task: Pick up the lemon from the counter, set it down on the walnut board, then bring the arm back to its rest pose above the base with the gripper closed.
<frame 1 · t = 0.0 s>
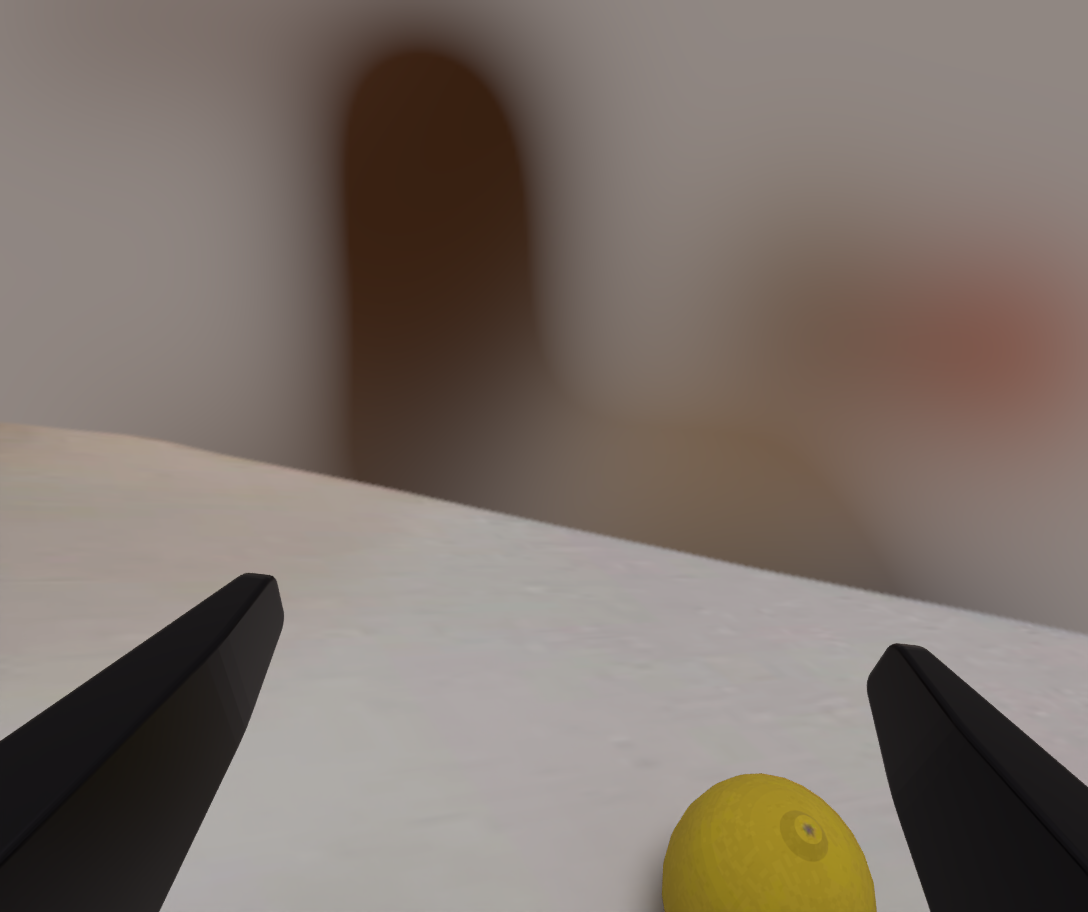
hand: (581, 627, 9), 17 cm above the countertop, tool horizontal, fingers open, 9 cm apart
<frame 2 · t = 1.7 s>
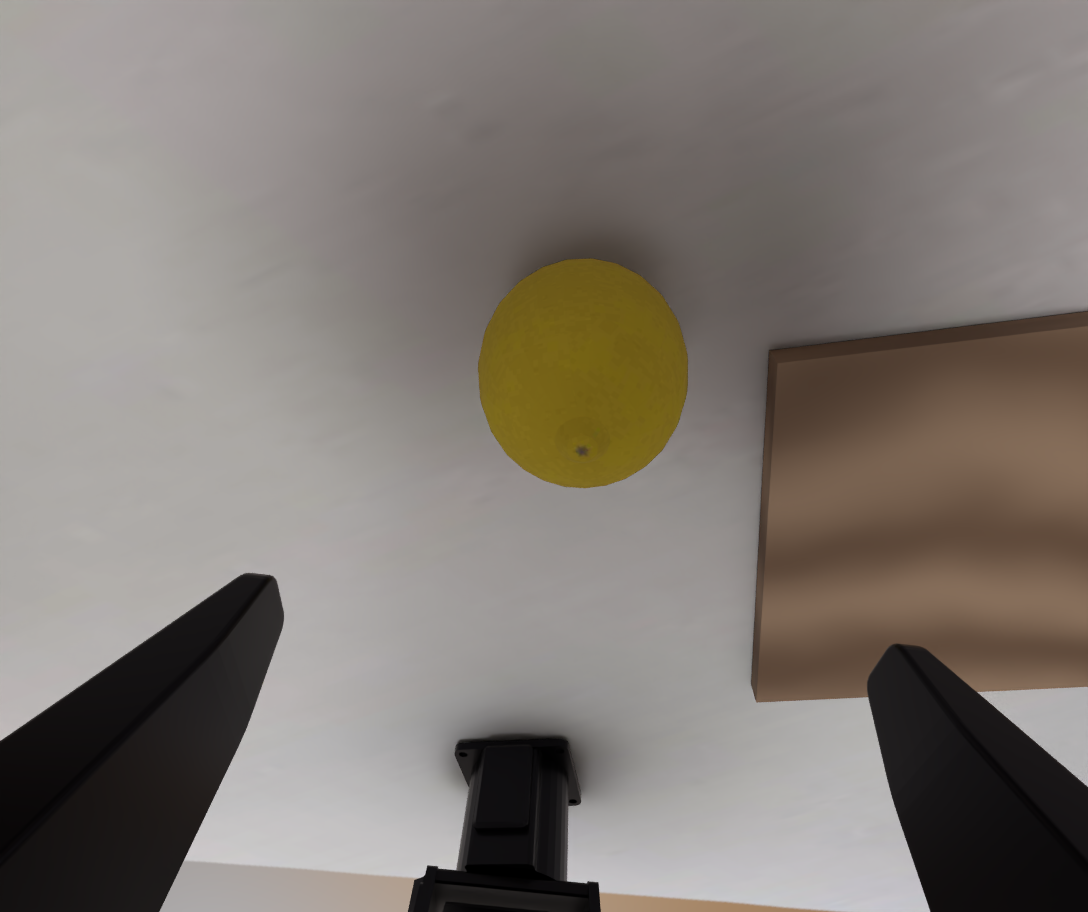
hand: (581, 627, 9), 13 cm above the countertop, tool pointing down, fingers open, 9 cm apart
walnut board: (993, 532, 23), on the countertop
lemon: (581, 315, 19), on the countertop
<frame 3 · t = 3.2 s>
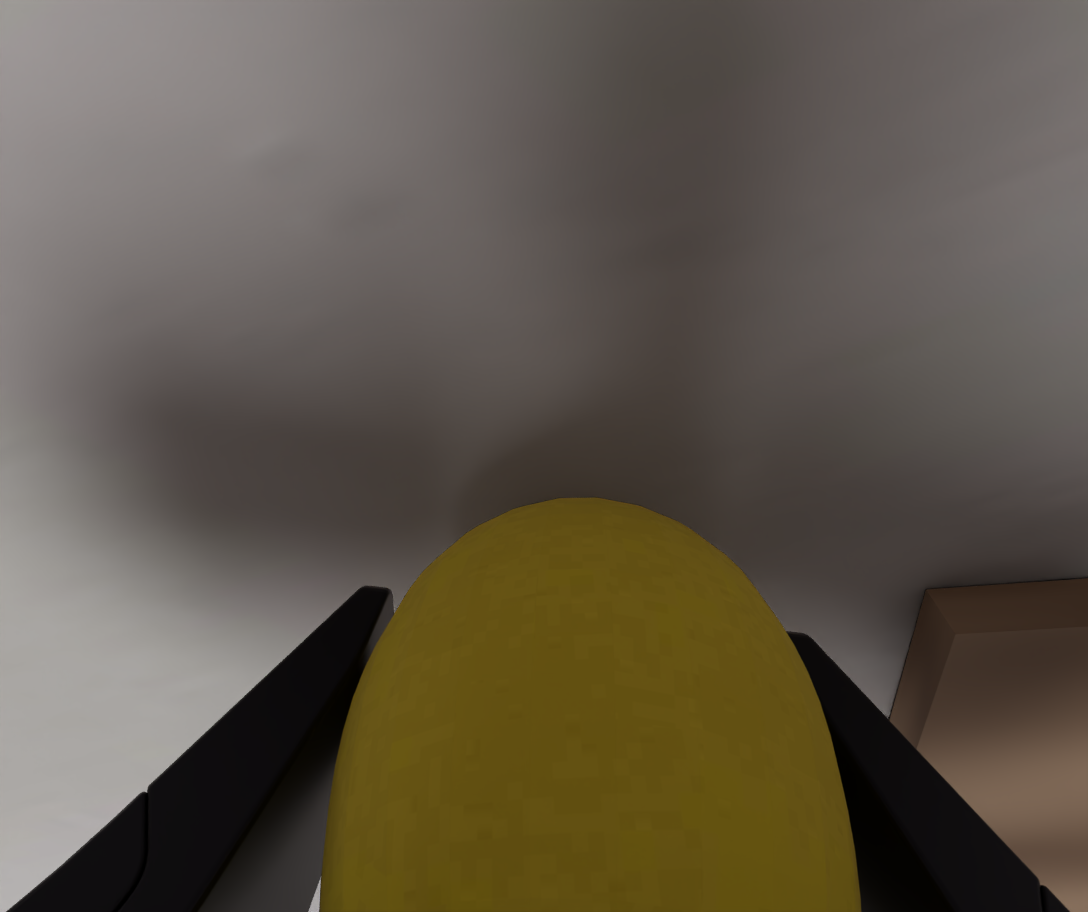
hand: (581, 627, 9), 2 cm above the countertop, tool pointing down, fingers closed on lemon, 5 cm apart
lemon: (581, 526, 10), on the countertop, touching gripper
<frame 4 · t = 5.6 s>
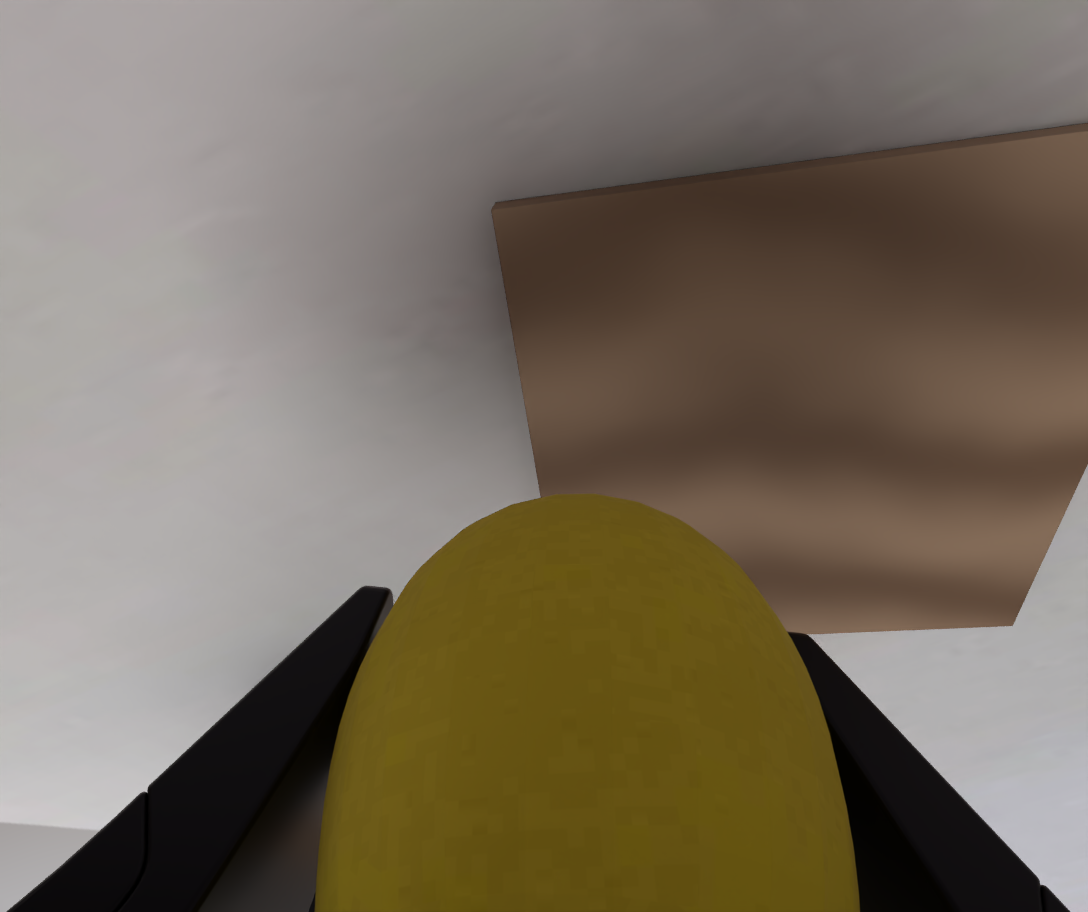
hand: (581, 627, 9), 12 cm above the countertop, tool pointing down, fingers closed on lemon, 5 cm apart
walnut board: (794, 443, 20), on the countertop
lemon: (580, 524, 10), point 10 cm above the countertop, touching gripper
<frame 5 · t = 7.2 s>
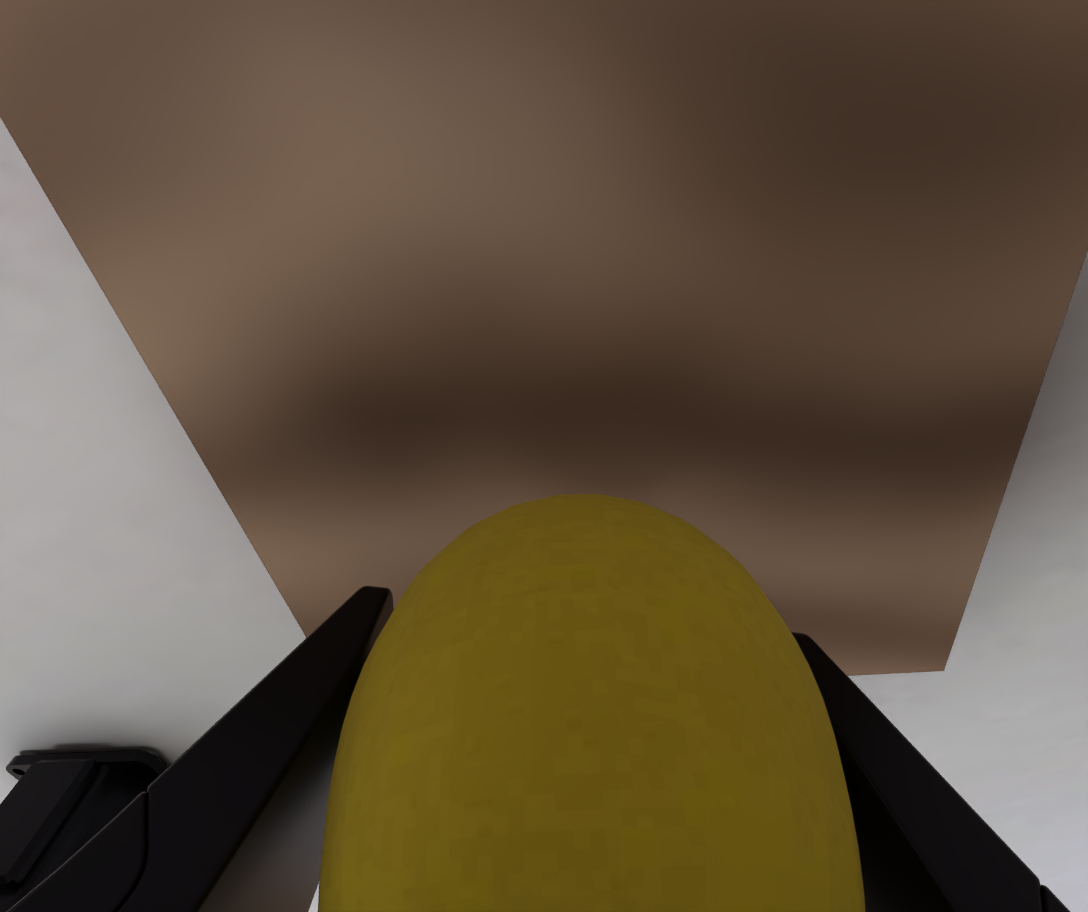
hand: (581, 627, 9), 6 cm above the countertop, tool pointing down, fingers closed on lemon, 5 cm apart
walnut board: (586, 413, 14), on the countertop
lemon: (582, 524, 10), point 4 cm above the countertop, touching gripper
when the fingers open (4 cm above the countertop, at t = 8.0 s): lemon drops 1 cm, resting on walnut board.
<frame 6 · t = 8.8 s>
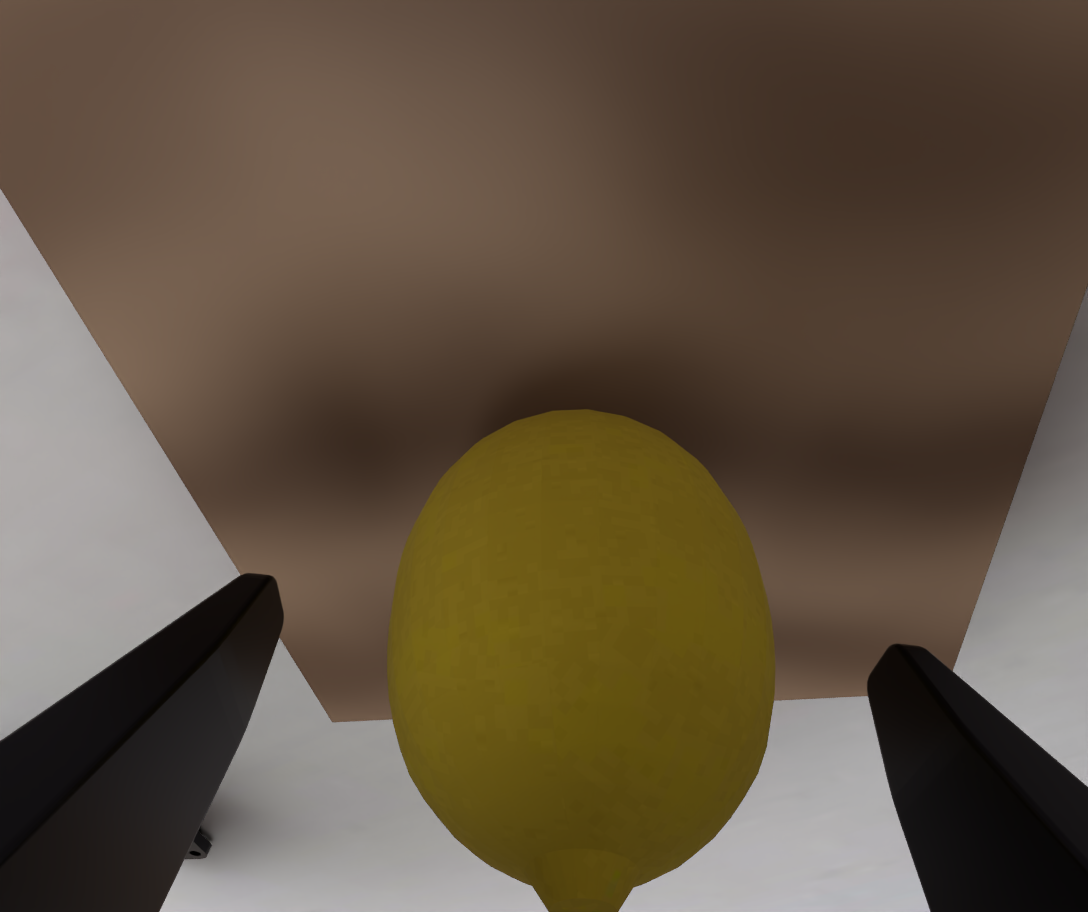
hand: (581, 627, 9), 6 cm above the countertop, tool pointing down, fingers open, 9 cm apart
walnut board: (578, 433, 13), on the countertop
lemon: (573, 451, 12), point 1 cm above the countertop, touching walnut board
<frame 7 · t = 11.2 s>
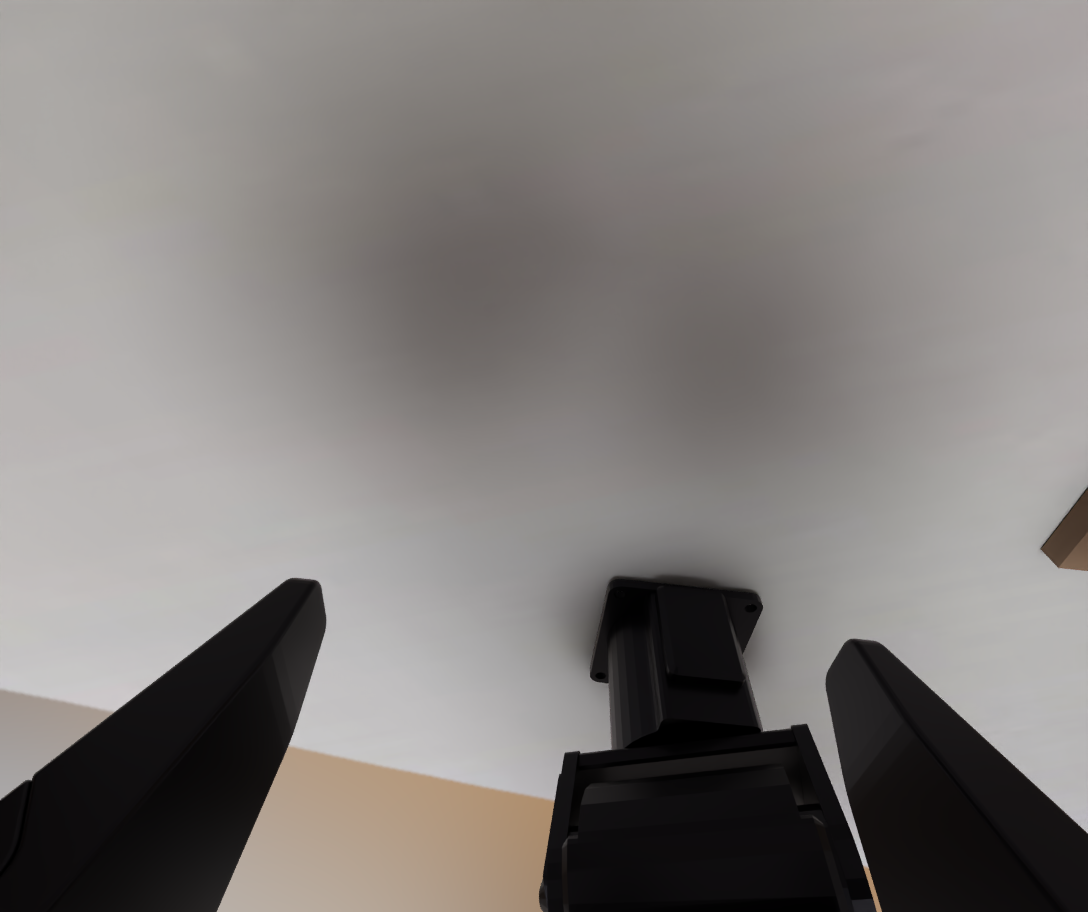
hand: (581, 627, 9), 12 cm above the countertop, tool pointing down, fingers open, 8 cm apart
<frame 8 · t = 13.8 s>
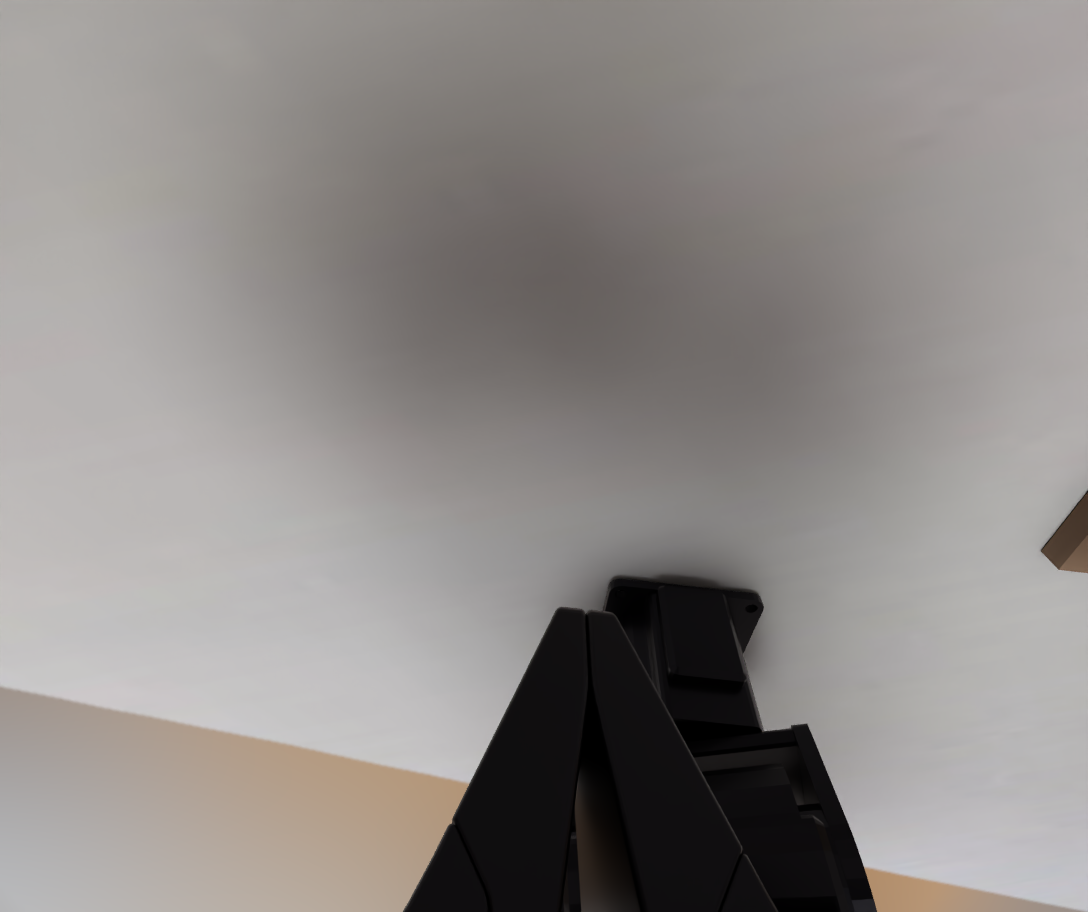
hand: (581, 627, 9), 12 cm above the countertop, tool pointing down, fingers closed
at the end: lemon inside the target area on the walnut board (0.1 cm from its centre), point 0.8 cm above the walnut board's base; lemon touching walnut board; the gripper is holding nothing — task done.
